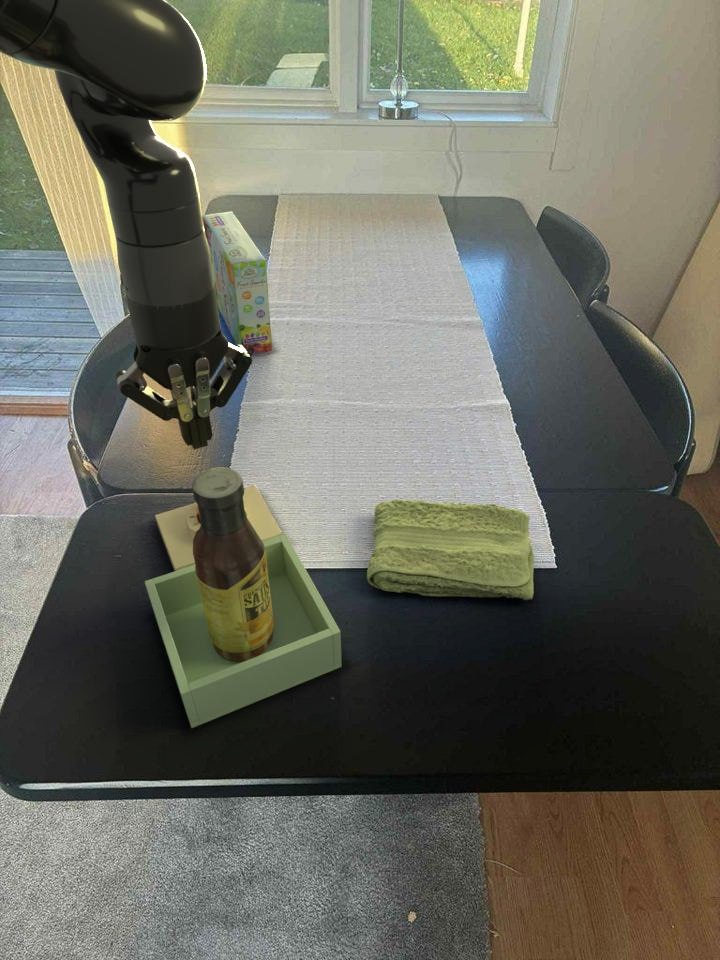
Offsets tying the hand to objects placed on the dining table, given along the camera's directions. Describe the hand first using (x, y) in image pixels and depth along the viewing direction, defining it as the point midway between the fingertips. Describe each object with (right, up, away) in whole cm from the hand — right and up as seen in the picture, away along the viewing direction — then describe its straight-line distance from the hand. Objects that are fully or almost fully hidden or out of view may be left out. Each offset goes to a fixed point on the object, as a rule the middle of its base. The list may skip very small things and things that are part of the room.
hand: (198, 443), depth 71 cm
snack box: (-3, +22, +46) cm, 51 cm away
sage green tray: (+5, -20, -2) cm, 20 cm away
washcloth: (+26, -12, +7) cm, 30 cm away
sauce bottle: (+5, -19, -2) cm, 20 cm away
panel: (0, -10, +9) cm, 13 cm away
